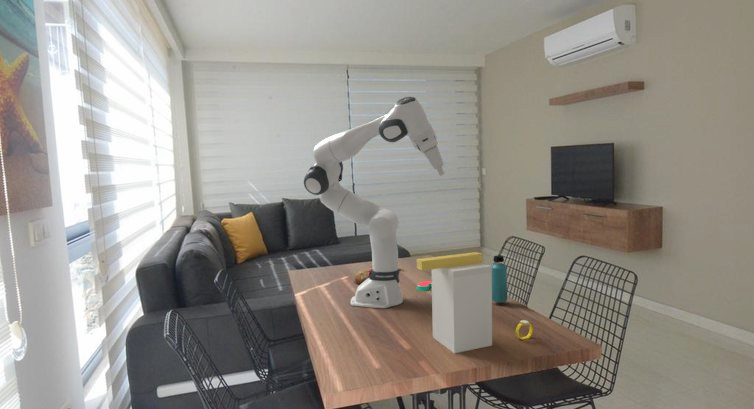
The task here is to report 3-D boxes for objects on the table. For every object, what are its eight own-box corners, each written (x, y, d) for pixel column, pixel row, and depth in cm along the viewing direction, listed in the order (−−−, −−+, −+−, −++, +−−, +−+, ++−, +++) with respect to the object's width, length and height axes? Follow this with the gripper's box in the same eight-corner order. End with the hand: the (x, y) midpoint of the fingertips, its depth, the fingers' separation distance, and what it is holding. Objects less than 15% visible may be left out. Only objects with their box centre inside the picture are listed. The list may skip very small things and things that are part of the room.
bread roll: (358, 287, 229) (350, 273, 228) (375, 277, 229) (368, 264, 228) (358, 292, 219) (351, 278, 218) (377, 282, 219) (369, 268, 218)
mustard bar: (421, 270, 138) (421, 261, 138) (416, 268, 142) (416, 259, 141) (481, 262, 146) (481, 253, 146) (475, 260, 150) (475, 251, 149)
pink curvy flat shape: (445, 280, 224) (445, 275, 224) (461, 288, 209) (461, 283, 209) (408, 285, 218) (408, 280, 218) (423, 294, 203) (423, 289, 202)
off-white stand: (454, 353, 139) (453, 271, 136) (432, 337, 152) (431, 262, 149) (492, 345, 144) (491, 266, 141) (468, 330, 157) (467, 257, 154)
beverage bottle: (508, 306, 181) (508, 257, 179) (491, 305, 182) (490, 257, 180) (506, 301, 187) (506, 254, 185) (490, 300, 189) (490, 254, 187)
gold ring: (528, 336, 151) (529, 319, 151) (533, 339, 148) (535, 321, 148) (513, 338, 149) (514, 320, 148) (519, 341, 146) (520, 323, 146)
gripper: (412, 135, 172) (427, 165, 178) (420, 150, 154) (437, 183, 159) (426, 128, 172) (441, 158, 177) (437, 141, 153) (453, 175, 158)
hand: (439, 170), depth 168 cm, fingers open, 8 cm apart
